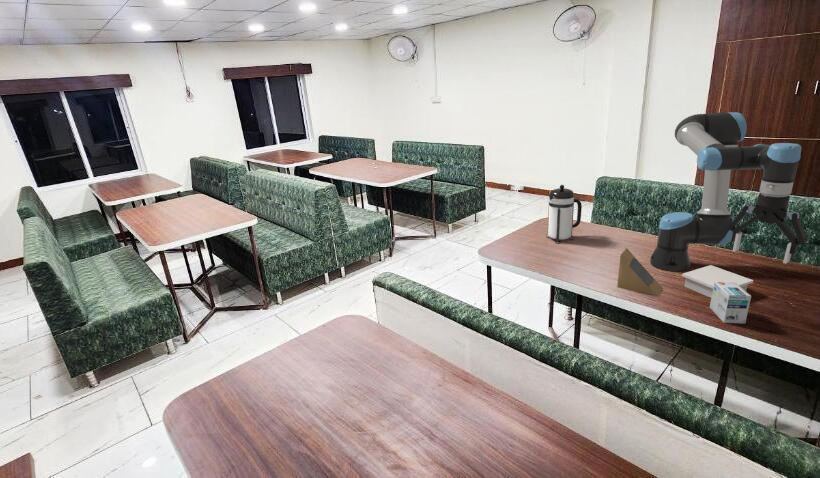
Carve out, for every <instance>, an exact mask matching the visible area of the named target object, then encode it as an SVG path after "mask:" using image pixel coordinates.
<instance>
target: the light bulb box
mask: <svg viewBox="0 0 820 478" xmlns="http://www.w3.org/2000/svg"><path fill="white" fill-rule="evenodd" d="M751 299H752V295H751V294H750V293H748V292H747V290H746V291H744V290H743V289H742V288H741V287H740V286H739V285H737V284H736V283H735V282H714V288H713V293H712V298H710V305H709V308H710V310H712V312H714V314H715V315H716V316H717V317H718V318H719V319H720V321H722V323H724V324H746V322H747V316H748V312H749V309H750V308H749V307H750V304H751Z"/></svg>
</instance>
